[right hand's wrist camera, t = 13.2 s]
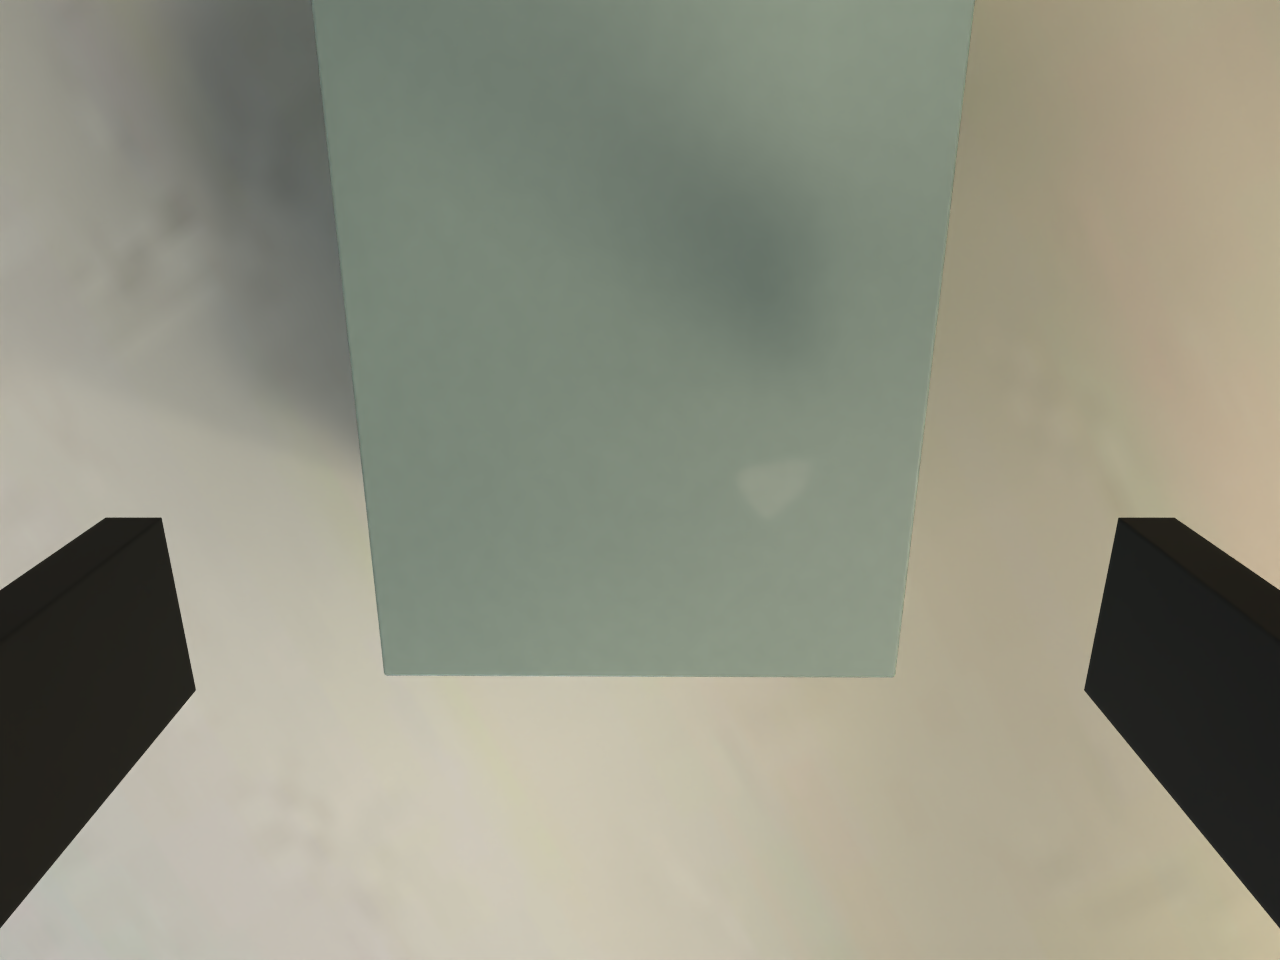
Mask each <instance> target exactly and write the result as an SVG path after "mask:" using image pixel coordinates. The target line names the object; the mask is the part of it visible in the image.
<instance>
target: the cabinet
mask: <svg viewBox="0 0 1280 960" xmlns="http://www.w3.org/2000/svg"><path fill="white" fill-rule="evenodd" d="M311 3H312V12H313V21H314V30H315V40H316V49H317V58H318V67H319V76H320V86H321V95H322V104H323V113H324V123H325V132H326V141H327V150H328V160H329V169H330V178H331V187H332V196H333V206H334V215H335V224H336V233H337V243H338V252H339V261H340V270H341V279H342V289H343V298H344V307H345V316H346V326H347V335H348V344H349V353H350V363H351V372H352V381H353V390H354V399H355V409H356V418H357V427H358V436H359V446H360V455H361V464H362V473H363V482H364V492H365V501H366V510H367V519H368V529H369V538H370V547H371V556H372V566H373V575H374V584H375V593H376V602H377V612H378V621H379V630H380V639H381V649H382V658H383V667H384V674H385V675H387V676H640V677H894V676H895V672H896V664H897V655H898V647H899V638H900V630H901V621H902V613H903V604H904V596H905V587H906V579H907V571H908V562H909V554H910V545H911V537H912V528H913V520H914V511H915V503H916V494H917V486H918V477H919V469H920V461H921V452H922V444H923V435H924V427H925V418H926V410H927V401H928V393H929V384H930V376H931V367H932V359H933V351H934V342H935V334H936V325H937V317H938V308H939V300H940V291H941V283H942V274H943V266H944V257H945V249H946V241H947V232H948V224H949V215H950V207H951V198H952V190H953V181H954V173H955V164H956V156H957V147H958V139H959V131H960V122H961V114H962V105H963V97H964V88H965V80H966V71H967V63H968V54H969V46H970V37H971V29H972V21H973V12H974V4H975V0H311Z"/></svg>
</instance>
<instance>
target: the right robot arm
mask: <svg viewBox="0 0 1280 960" xmlns="http://www.w3.org/2000/svg"><path fill="white" fill-rule="evenodd" d="M195 691H196V689H195V684H194V679H193V674H192V669H191V664H190V659H189V654H188V648H187V643H186V638H185V633H184V628H183V623H182V618H181V613H180V608H179V603H178V598H177V593H176V588H175V583H174V578H173V573H172V568H171V563H170V558H169V553H168V548H167V543H166V538H165V533H164V528H163V523H162V518H104V519H103V520H102V521H100V522H99V523H97V524H96V525H94V526H93V527H91V528H90V529H89V530H87V531H86V532H84V533H83V534H81V535H80V536H78V537H77V538H75V539H74V540H73V541H71V542H70V543H68V544H67V545H65V546H64V547H62V548H61V549H59V550H58V551H57V552H55V553H54V554H52V555H51V556H49V557H48V558H46V559H45V560H44V561H42V562H41V563H39V564H38V565H36V566H35V567H33V568H32V569H30V570H29V571H28V572H26V573H25V574H23V575H22V576H20V577H19V578H17V579H16V580H14V581H13V582H12V583H10V584H9V585H7V586H6V587H4V588H3V589H1V590H0V928H1V927H2V925H3V924H4V923H5V922H6V921H7V919H8V918H9V917H10V916H11V914H12V913H13V912H14V911H15V910H16V908H17V907H18V906H19V905H20V904H21V902H22V901H23V900H24V899H25V897H26V896H27V895H28V894H29V893H30V891H31V890H32V889H33V888H34V886H35V885H36V884H37V883H38V882H39V880H40V879H41V878H42V877H43V876H44V874H45V873H46V872H47V871H48V869H49V868H50V867H51V866H52V865H53V863H54V862H55V861H56V860H57V858H58V857H59V856H60V855H61V854H62V852H63V851H64V850H65V849H66V848H67V846H68V845H69V844H70V843H71V841H72V840H73V839H74V838H75V837H76V835H77V834H78V833H79V832H80V830H81V829H82V828H83V827H84V826H85V824H86V823H87V822H88V821H89V820H90V818H91V817H92V816H93V815H94V813H95V812H96V811H97V810H98V809H99V807H100V806H101V805H102V804H103V802H104V801H105V800H106V799H107V798H108V796H109V795H110V794H111V793H112V792H113V790H114V789H115V788H116V787H117V785H118V784H119V783H120V782H121V781H122V779H123V778H124V777H125V776H126V774H127V773H128V772H129V771H130V770H131V768H132V767H133V766H134V765H135V764H136V762H137V761H138V760H139V759H140V757H141V756H142V755H143V754H144V753H145V751H146V750H147V749H148V748H149V747H150V745H151V744H152V743H153V742H154V740H155V739H156V738H157V737H158V736H159V734H160V733H161V732H162V731H163V729H164V728H165V727H166V726H167V725H168V723H169V722H170V721H171V720H172V719H173V717H174V716H175V715H176V714H177V712H178V711H179V710H180V709H181V708H182V706H183V705H184V704H185V703H186V701H187V700H188V699H189V698H190V697H191V695H192V694H193V693H194V692H195ZM1084 691H1085V692H1086V693H1087V694H1088V695H1089V697H1090V698H1091V699H1092V700H1093V701H1094V703H1095V704H1096V705H1097V706H1098V708H1099V709H1100V710H1101V711H1102V712H1103V714H1104V715H1105V716H1106V717H1107V719H1108V720H1109V721H1110V722H1111V723H1112V725H1113V726H1114V727H1115V728H1116V729H1117V731H1118V732H1119V733H1120V734H1121V736H1122V737H1123V738H1124V739H1125V740H1126V742H1127V743H1128V744H1129V745H1130V747H1131V748H1132V749H1133V750H1134V751H1135V753H1136V754H1137V755H1138V756H1139V757H1140V759H1141V760H1142V761H1143V762H1144V764H1145V765H1146V766H1147V767H1148V768H1149V770H1150V771H1151V772H1152V773H1153V775H1154V776H1155V777H1156V778H1157V779H1158V781H1159V782H1160V783H1161V784H1162V785H1163V787H1164V788H1165V789H1166V790H1167V792H1168V793H1169V794H1170V795H1171V796H1172V798H1173V799H1174V800H1175V801H1176V802H1177V804H1178V805H1179V806H1180V807H1181V809H1182V810H1183V811H1184V812H1185V813H1186V815H1187V816H1188V817H1189V818H1190V820H1191V821H1192V822H1193V823H1194V824H1195V826H1196V827H1197V828H1198V829H1199V830H1200V832H1201V833H1202V834H1203V835H1204V837H1205V838H1206V839H1207V840H1208V841H1209V843H1210V844H1211V845H1212V846H1213V848H1214V849H1215V850H1216V851H1217V852H1218V854H1219V855H1220V856H1221V857H1222V858H1223V860H1224V861H1225V862H1226V863H1227V865H1228V866H1229V867H1230V868H1231V869H1232V871H1233V872H1234V873H1235V874H1236V876H1237V877H1238V878H1239V879H1240V880H1241V882H1242V883H1243V884H1244V885H1245V886H1246V888H1247V889H1248V890H1249V891H1250V893H1251V894H1252V895H1253V896H1254V897H1255V899H1256V900H1257V901H1258V902H1259V904H1260V905H1261V906H1262V907H1263V908H1264V910H1265V911H1266V912H1267V913H1268V914H1269V916H1270V917H1271V918H1272V919H1273V921H1274V922H1275V923H1276V924H1277V925H1278V927H1279V928H1280V590H1279V589H1277V588H1276V587H1274V586H1273V585H1271V584H1270V583H1268V582H1267V581H1266V580H1264V579H1263V578H1261V577H1260V576H1258V575H1257V574H1255V573H1254V572H1252V571H1251V570H1250V569H1248V568H1247V567H1245V566H1244V565H1242V564H1241V563H1239V562H1238V561H1236V560H1235V559H1234V558H1232V557H1231V556H1229V555H1228V554H1226V553H1225V552H1223V551H1222V550H1221V549H1219V548H1218V547H1216V546H1215V545H1213V544H1212V543H1210V542H1209V541H1207V540H1206V539H1205V538H1203V537H1202V536H1200V535H1199V534H1197V533H1196V532H1194V531H1193V530H1191V529H1190V528H1189V527H1187V526H1186V525H1184V524H1183V523H1181V522H1180V521H1178V520H1177V519H1176V518H1118V523H1117V528H1116V533H1115V538H1114V543H1113V548H1112V553H1111V558H1110V563H1109V568H1108V573H1107V578H1106V583H1105V588H1104V593H1103V598H1102V603H1101V608H1100V613H1099V618H1098V623H1097V628H1096V633H1095V638H1094V643H1093V648H1092V653H1091V659H1090V664H1089V669H1088V674H1087V679H1086V684H1085V689H1084Z"/></svg>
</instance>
